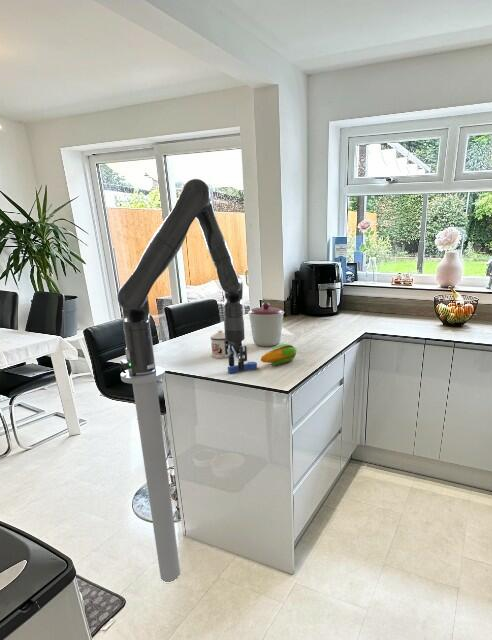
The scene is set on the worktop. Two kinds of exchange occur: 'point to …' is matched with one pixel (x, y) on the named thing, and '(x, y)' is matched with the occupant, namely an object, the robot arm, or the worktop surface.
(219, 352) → the teacup with lid
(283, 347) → the corn
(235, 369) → the blue toy block
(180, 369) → the worktop surface
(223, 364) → the worktop surface
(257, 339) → the canister
